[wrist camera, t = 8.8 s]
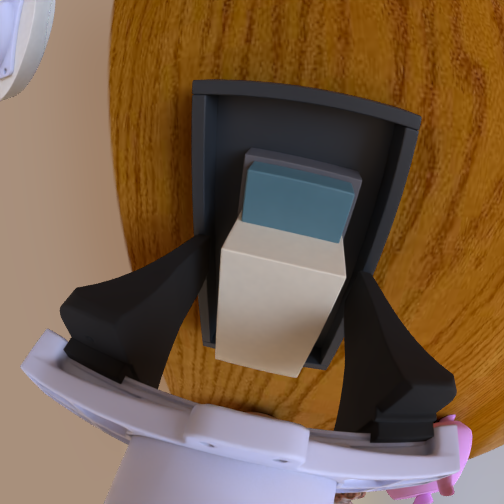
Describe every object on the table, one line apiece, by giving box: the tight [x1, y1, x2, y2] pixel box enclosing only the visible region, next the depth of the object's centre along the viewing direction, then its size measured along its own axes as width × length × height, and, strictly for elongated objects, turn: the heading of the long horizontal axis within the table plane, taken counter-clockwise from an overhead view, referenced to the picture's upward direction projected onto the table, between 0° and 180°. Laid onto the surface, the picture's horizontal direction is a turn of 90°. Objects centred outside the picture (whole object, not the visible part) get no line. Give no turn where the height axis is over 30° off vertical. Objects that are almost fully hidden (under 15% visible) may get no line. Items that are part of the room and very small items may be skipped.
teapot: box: [386, 415, 472, 504], centre depth 21 cm, size 20×14×12 cm
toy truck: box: [215, 148, 362, 378], centre depth 13 cm, size 10×5×4 cm, turn 173°
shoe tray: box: [192, 79, 422, 370], centre depth 14 cm, size 16×9×2 cm, turn 176°
